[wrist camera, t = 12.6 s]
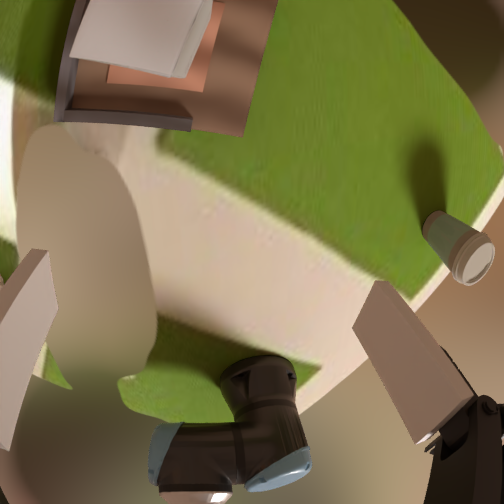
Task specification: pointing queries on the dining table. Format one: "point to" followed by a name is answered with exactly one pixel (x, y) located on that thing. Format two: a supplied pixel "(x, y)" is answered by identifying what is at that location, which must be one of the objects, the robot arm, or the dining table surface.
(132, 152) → the dining table surface
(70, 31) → the dock
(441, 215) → the coffee cup
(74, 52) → the supplement box
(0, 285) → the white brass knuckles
